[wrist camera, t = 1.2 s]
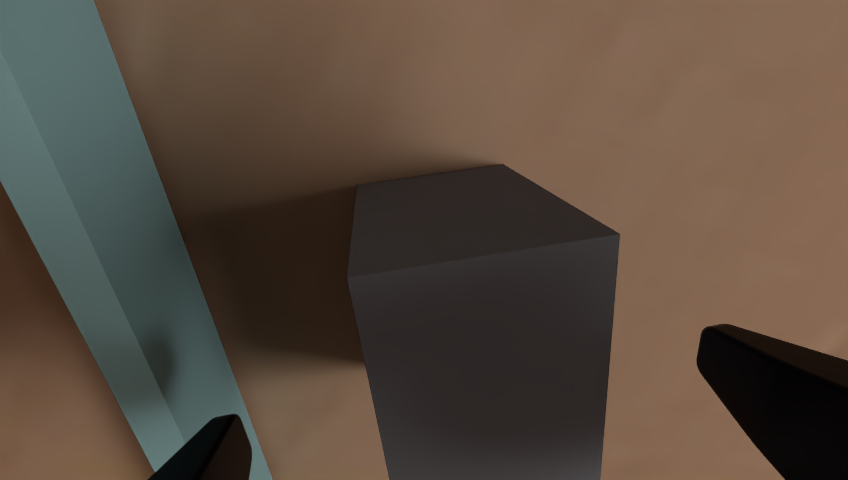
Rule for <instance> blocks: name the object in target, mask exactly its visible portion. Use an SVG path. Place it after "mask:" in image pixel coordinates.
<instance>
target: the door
mask: <svg viewBox="0 0 848 480" xmlns="http://www.w3.org/2000/svg"><path fill="white" fill-rule="evenodd" d="M0 181H1V183H2V185H3V187H4V189H5V191H6V193H7V195H8V196H9V198H10V200H11V202H12V204H13V206H14V208H15V210H16V212H17V213H18V215H19V217H20V219H21V221H22V223H23V225H24V227H25V229H26V230H27V232H28V234H29V236H30V238H31V240H32V242H33V244H34V245H35V247H36V249H37V251H38V253H39V255H40V257H41V259H42V261H43V262H44V264H45V266H46V268H47V270H48V272H49V274H50V276H51V278H52V279H53V281H54V283H55V285H56V287H57V289H58V291H59V293H60V295H61V296H62V298H63V300H64V302H65V304H66V306H67V308H68V310H69V312H70V313H71V315H72V317H73V319H74V321H75V323H76V325H77V327H78V328H79V330H80V332H81V334H82V336H83V338H84V340H85V342H86V344H87V345H88V347H89V349H90V351H91V353H92V355H93V357H94V359H95V361H96V362H97V364H98V366H99V368H100V370H101V372H102V374H103V376H104V378H105V379H106V381H107V383H108V385H109V387H110V389H111V391H112V393H113V395H114V396H115V398H116V400H117V402H118V404H119V406H120V408H121V410H122V411H123V413H124V415H125V417H126V419H127V421H128V423H129V425H130V427H131V428H132V430H133V432H134V434H135V436H136V438H137V440H138V442H139V444H140V445H141V447H142V449H143V451H144V453H145V455H146V457H147V459H148V461H149V462H150V464H151V466H152V468H153V470H154V472H156V471H157V470H158V469H159V468H160V467H161V466H162V465H164V464H165V463H166V462H167V461H168V460H169V459H170V458H171V457H172V456H173V455H174V454H175V453H176V452H177V451H178V450H179V449H180V448H181V447H182V446H183V445H184V444H186V443H187V442H188V441H189V440H190V439H191V438H192V437H193V436H194V435H195V434H196V433H197V432H198V431H199V430H200V429H201V428H202V427H203V426H204V425H205V424H207V423H208V422H209V421H210V420H211V419H212V418H215V417H218V416H223V415H229V414H237V415H238V416H239V417H240V418H241V420H242V423H243V425H244V428H245V431H246V433H247V436H248V439H249V441H250V444H251V447H252V463H251V470H250V476H249V480H273V479H272V477H271V474H270V471H269V469H268V466H267V463H266V461H265V458H264V455H263V453H262V450H261V447H260V445H259V442H258V439H257V437H256V434H255V431H254V429H253V426H252V423H251V420H250V418H249V415H248V412H247V410H246V407H245V404H244V402H243V399H242V396H241V394H240V391H239V388H238V386H237V383H236V380H235V378H234V375H233V372H232V370H231V367H230V364H229V362H228V359H227V356H226V353H225V351H224V348H223V345H222V343H221V340H220V337H219V335H218V332H217V329H216V327H215V324H214V321H213V319H212V316H211V313H210V311H209V308H208V305H207V303H206V300H205V297H204V295H203V292H202V289H201V287H200V284H199V281H198V278H197V276H196V273H195V270H194V268H193V265H192V262H191V260H190V257H189V254H188V252H187V249H186V246H185V244H184V241H183V238H182V236H181V233H180V230H179V228H178V225H177V222H176V220H175V217H174V214H173V211H172V209H171V206H170V203H169V201H168V198H167V195H166V193H165V190H164V187H163V185H162V182H161V179H160V177H159V174H158V171H157V169H156V166H155V163H154V161H153V158H152V155H151V153H150V150H149V147H148V145H147V142H146V139H145V136H144V134H143V131H142V128H141V126H140V123H139V120H138V118H137V115H136V112H135V110H134V107H133V104H132V102H131V99H130V96H129V94H128V91H127V88H126V86H125V83H124V80H123V78H122V75H121V72H120V69H119V67H118V64H117V61H116V59H115V56H114V53H113V51H112V48H111V45H110V43H109V40H108V37H107V35H106V32H105V29H104V27H103V24H102V21H101V19H100V16H99V13H98V11H97V8H96V5H95V3H94V0H0Z"/></svg>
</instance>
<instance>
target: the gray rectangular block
mask: <svg viewBox="0 0 848 480" xmlns="http://www.w3.org/2000/svg"><path fill="white" fill-rule="evenodd" d="M619 239H620V234H619V233H617V232H616V231H614V230H612V229H611V228H609V227H607V226H606V225H604V224H602V223H601V222H599V221H597V220H596V219H594V218H592V217H591V216H589V215H587V214H586V213H584V212H582V211H581V210H579V209H577V208H575V207H574V206H572V205H570V204H569V203H567V202H565V201H564V200H562V199H560V198H559V197H557V196H555V195H554V194H552V193H550V192H549V191H547V190H545V189H544V188H542V187H540V186H539V185H537V184H535V183H534V182H532V181H530V180H529V179H527V178H525V177H524V176H522V175H520V174H519V173H517V172H515V171H514V170H512V169H510V168H509V167H507V166H505V165H503V164H502V165H495V166H488V167H481V168H474V169H467V170H460V171H453V172H446V173H439V174H432V175H425V176H418V177H411V178H404V179H397V180H390V181H383V182H376V183H369V184H362V185H357V190H356V199H355V208H354V218H353V227H352V236H351V245H350V254H349V263H348V273H347V281H348V285H349V290H350V295H351V300H352V304H353V309H354V314H355V319H356V323H357V328H358V333H359V337H360V342H361V347H362V352H363V356H364V361H365V366H366V371H367V375H368V380H369V385H370V389H371V394H372V399H373V404H374V408H375V413H376V418H377V423H378V427H379V432H380V437H381V441H382V446H383V451H384V456H385V460H386V465H387V470H388V475H389V479H390V480H600V476H601V463H602V451H603V438H604V426H605V413H606V401H607V388H608V376H609V363H610V351H611V339H612V326H613V314H614V301H615V289H616V276H617V264H618V251H619Z"/></svg>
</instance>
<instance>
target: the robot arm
mask: <svg viewBox="0 0 848 480" xmlns="http://www.w3.org/2000/svg"><path fill="white" fill-rule="evenodd" d="M697 366H698V369H699V371H700V373H701V375H702V376H703V377H704V379H705V380H706V381H707V383H708V384H709V385H710V386H711V388H712V389H713V390H714V392H715V393H716V394H717V396H718V397H719V398H720V400H721V401H722V402H723V404H724V405H725V406H726V408H727V409H728V410H729V412H730V413H731V414H732V416H733V417H734V418H735V420H736V421H737V422H738V424H739V425H740V426H741V428H742V429H743V430H744V432H745V433H746V434H747V436H748V437H749V438H750V439H751V441H752V442H753V443H754V445H755V446H756V447H757V448H758V449H759V450H760V452H761V453H762V454H763V455H764V456H765V457H766V459H767V460H768V461H769V462H770V463H771V464H772V465H773V467H774V468H775V469H776V470H777V471H778V472H779V473H780V474H781V476H782V477H783V478H784V479H785V480H848V361H847V360H844V359H841V358H838V357H834V356H831V355H828V354H824V353H821V352H818V351H815V350H811V349H808V348H805V347H802V346H798V345H795V344H792V343H789V342H785V341H782V340H779V339H775V338H772V337H769V336H766V335H762V334H759V333H756V332H753V331H749V330H746V329H743V328H740V327H736V326H733V325H729V324H719V325H714V326H708V327H706V328H704V329H703V331H702V333H701V337H700V343H699V348H698V354H697ZM251 463H252V447H251V444H250V441H249V439H248V436H247V433H246V431H245V428H244V425H243V423H242V420H241V418H240V417H239V416H238V415H237V414H229V415H223V416H218V417H215V418H212V419H211V420H210V421H209V422H208V423H207V424H205V425H204V426H203V427H202V428H201V429H200V430H199V431H198V432H197V433H196V434H195V435H194V436H193V437H192V438H191V439H190V440H189V441H188V442H187V443H186V444H184V445H183V446H182V447H181V448H180V449H179V450H178V451H177V452H176V453H175V454H174V455H173V456H172V457H171V458H170V459H169V460H168V461H167V462H166V463H165V464H164V465H162V466H161V467H160V468H159V469H158V470H157V471H156V472H155V473H154V474H153V475H152V476H151V477H150V478H149V479H148V480H249V476H250V470H251Z"/></svg>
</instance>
